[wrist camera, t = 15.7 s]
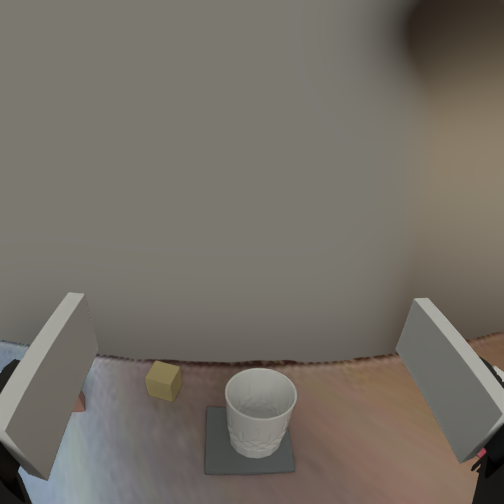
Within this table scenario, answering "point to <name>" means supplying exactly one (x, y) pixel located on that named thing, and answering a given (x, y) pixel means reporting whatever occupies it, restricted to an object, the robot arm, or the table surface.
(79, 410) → the brick-red long block
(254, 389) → the white cup
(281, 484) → the table surface
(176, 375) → the mustard block
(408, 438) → the table surface
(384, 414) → the table surface
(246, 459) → the slate coaster
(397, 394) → the table surface
